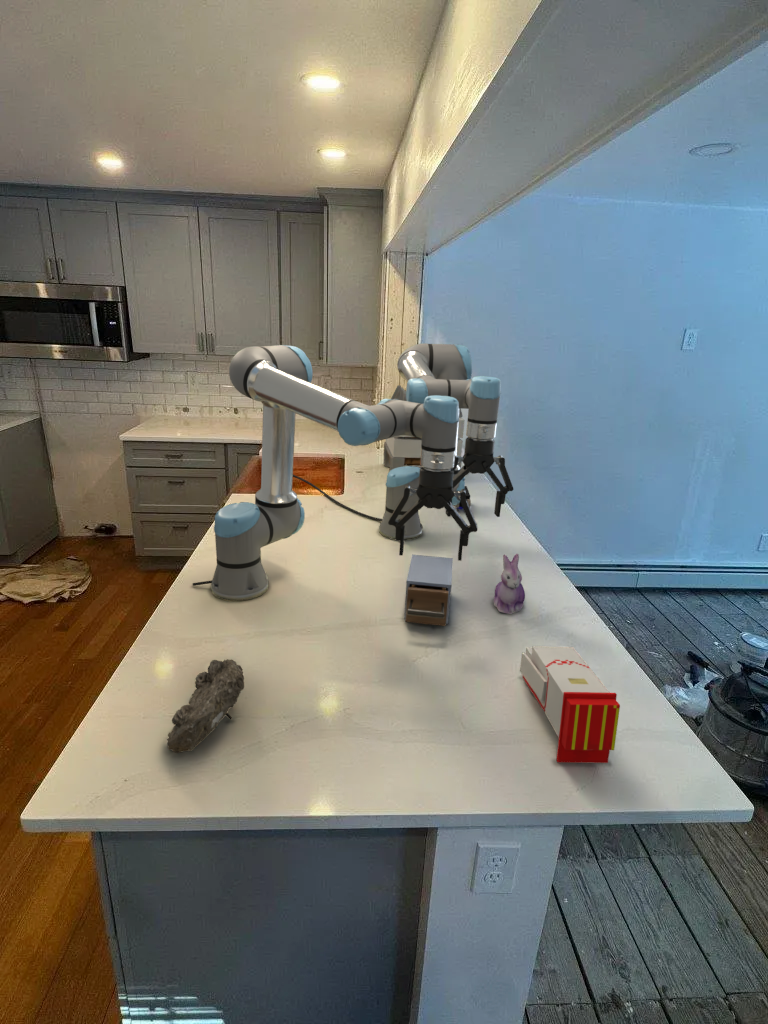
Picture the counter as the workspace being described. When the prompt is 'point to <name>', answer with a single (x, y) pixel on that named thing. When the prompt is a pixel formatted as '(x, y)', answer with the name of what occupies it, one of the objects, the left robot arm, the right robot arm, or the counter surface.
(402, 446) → the grey slatted crate
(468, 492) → the figurine character
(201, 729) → the fossil
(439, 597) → the drawer
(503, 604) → the figurine
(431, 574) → the cabinet
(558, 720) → the toy
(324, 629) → the counter surface
